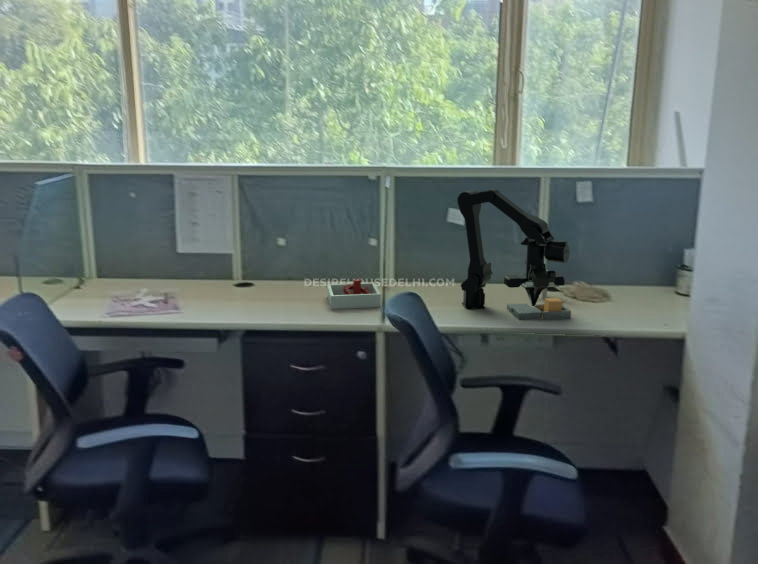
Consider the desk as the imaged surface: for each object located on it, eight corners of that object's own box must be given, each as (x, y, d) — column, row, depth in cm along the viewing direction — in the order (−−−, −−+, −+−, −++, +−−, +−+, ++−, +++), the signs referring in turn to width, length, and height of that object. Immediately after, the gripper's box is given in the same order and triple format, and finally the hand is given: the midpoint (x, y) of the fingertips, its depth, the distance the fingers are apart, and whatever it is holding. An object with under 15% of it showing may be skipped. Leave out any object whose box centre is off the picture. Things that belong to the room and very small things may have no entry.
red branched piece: (369, 307, 251) (369, 284, 249) (338, 303, 256) (337, 280, 254) (382, 299, 261) (382, 277, 259) (352, 296, 266) (352, 273, 263)
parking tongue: (511, 312, 244) (511, 308, 244) (506, 308, 249) (506, 304, 249) (531, 311, 245) (531, 307, 245) (526, 307, 250) (526, 303, 250)
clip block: (548, 301, 238) (562, 301, 239) (544, 298, 242) (557, 298, 242) (547, 316, 239) (560, 316, 240) (543, 312, 243) (556, 312, 244)
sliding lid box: (520, 320, 236) (520, 313, 235) (511, 312, 244) (511, 305, 244) (570, 318, 238) (571, 311, 237) (560, 310, 247) (560, 303, 246)
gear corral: (331, 308, 249) (330, 296, 248) (327, 296, 265) (327, 284, 263) (380, 306, 252) (380, 294, 250) (374, 294, 267) (374, 282, 266)
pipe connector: (558, 302, 257) (560, 274, 254) (529, 300, 259) (531, 273, 256) (557, 294, 266) (559, 267, 264) (529, 293, 268) (531, 266, 266)
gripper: (515, 265, 227) (513, 314, 231) (572, 263, 230) (570, 311, 233) (504, 258, 238) (502, 304, 242) (559, 256, 240) (557, 302, 244)
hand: (533, 305), depth 240 cm, fingers closed
